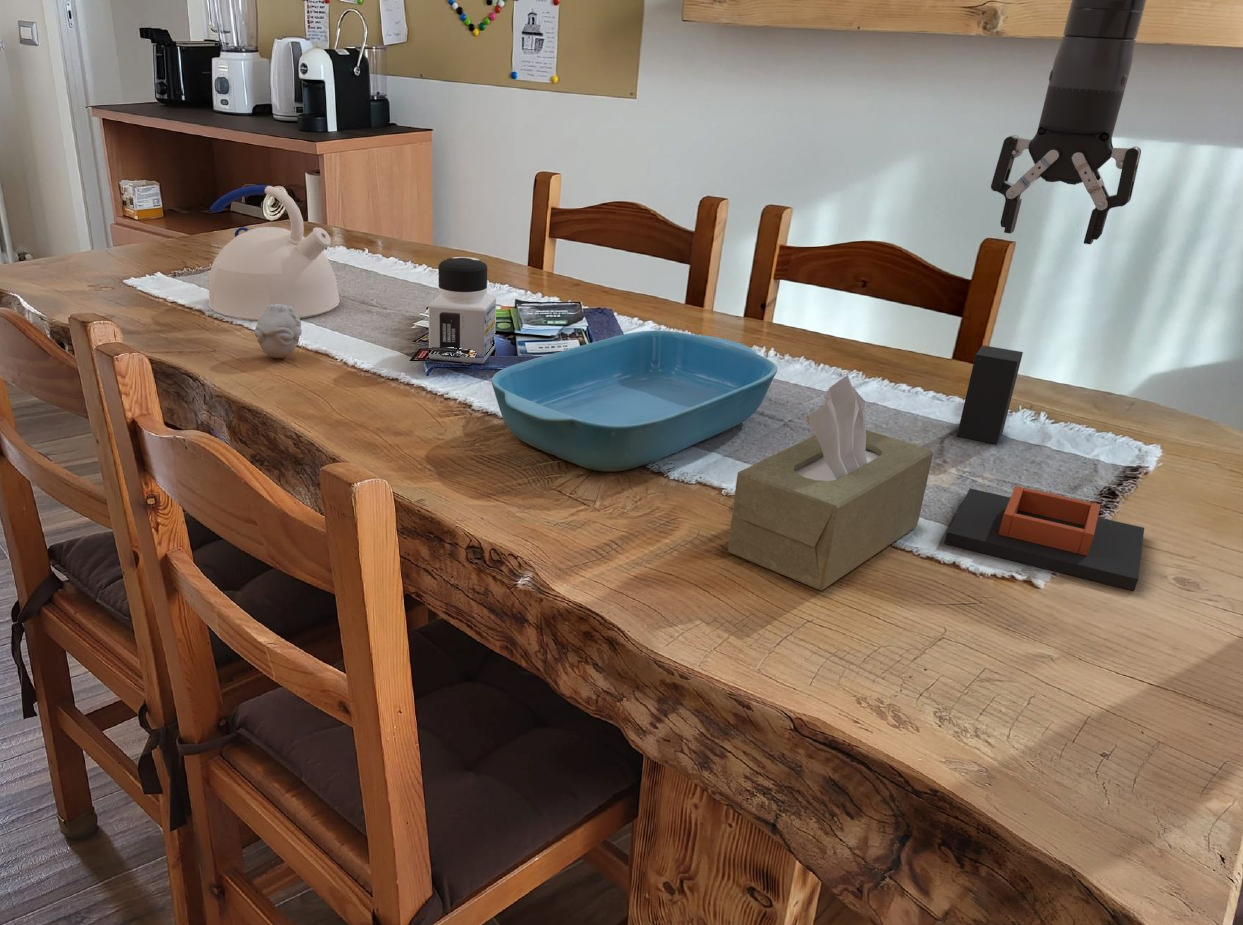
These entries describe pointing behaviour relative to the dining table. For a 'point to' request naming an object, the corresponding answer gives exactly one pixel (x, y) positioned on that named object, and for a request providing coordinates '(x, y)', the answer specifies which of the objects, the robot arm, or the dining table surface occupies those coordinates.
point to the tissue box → (829, 496)
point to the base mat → (1049, 535)
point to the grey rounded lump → (278, 330)
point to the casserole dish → (632, 397)
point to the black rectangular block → (989, 394)
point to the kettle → (272, 266)
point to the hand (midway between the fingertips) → (1047, 237)
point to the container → (462, 310)
